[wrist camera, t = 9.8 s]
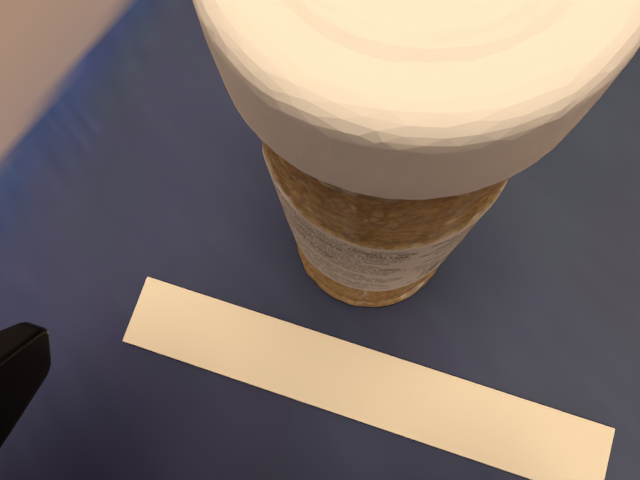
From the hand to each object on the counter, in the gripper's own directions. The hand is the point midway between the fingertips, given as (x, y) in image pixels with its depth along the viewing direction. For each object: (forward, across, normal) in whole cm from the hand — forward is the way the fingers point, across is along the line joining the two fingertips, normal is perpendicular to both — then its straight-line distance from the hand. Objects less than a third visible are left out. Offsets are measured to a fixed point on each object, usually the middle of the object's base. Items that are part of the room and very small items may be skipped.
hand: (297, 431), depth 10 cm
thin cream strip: (+6, -1, +5) cm, 8 cm away
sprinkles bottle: (+9, 0, +2) cm, 9 cm away
